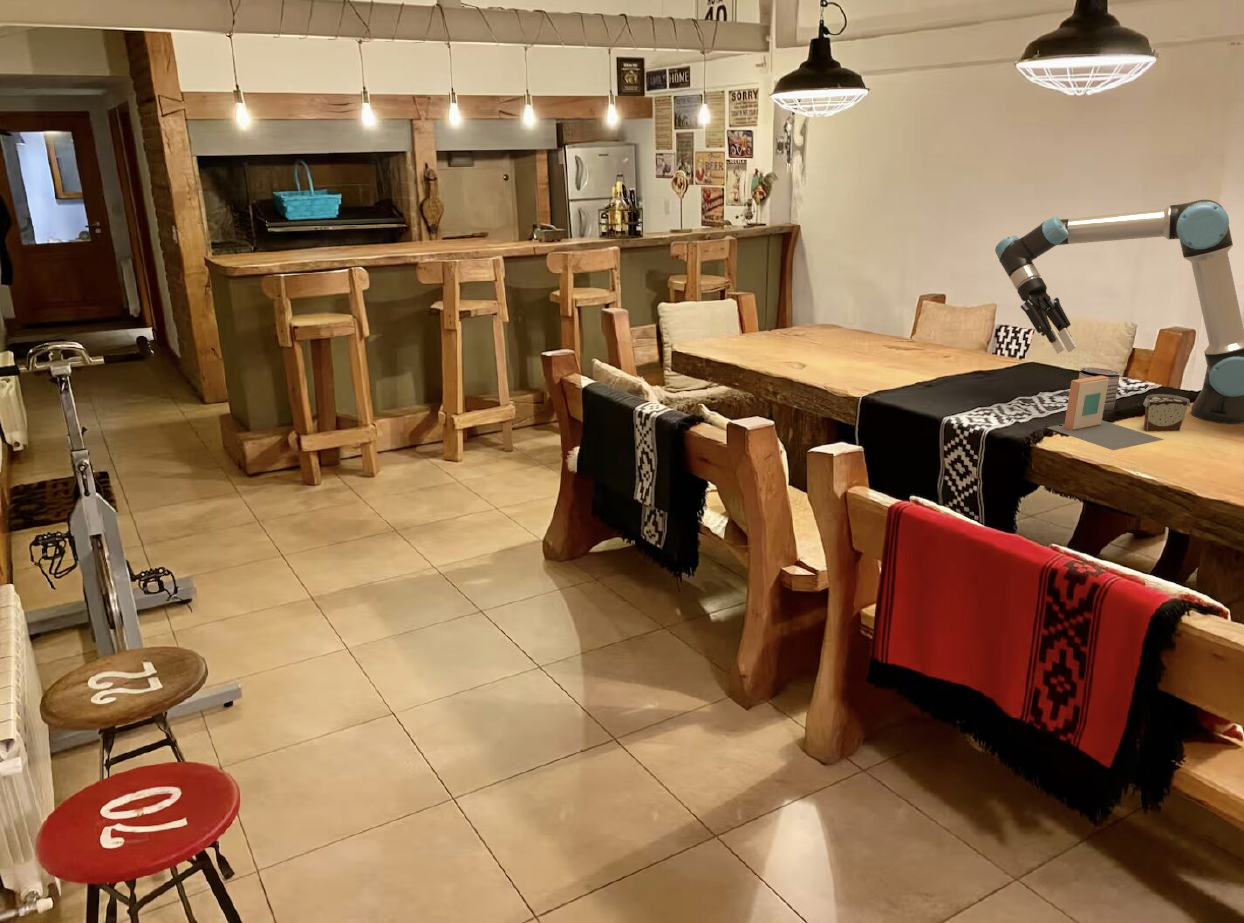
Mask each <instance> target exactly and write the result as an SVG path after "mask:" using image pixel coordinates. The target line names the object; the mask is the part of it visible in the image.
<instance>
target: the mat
mask: <svg viewBox="0 0 1244 923" xmlns="http://www.w3.org/2000/svg"><path fill="white" fill-rule="evenodd" d="M1064 424H1065V423H1062V424H1057V425H1052V426H1047V427H1045V429H1049V430H1051V431H1054V432H1057V433H1060V434H1065V435H1066V436H1070V437H1072V438H1075V439H1079V440H1082V441H1084V442H1087V443H1090V444H1094V445H1097V446H1099V447H1102V448H1105V449H1108V450H1112V451H1116V450H1121V449H1122V450H1123V449H1126V448H1131V447H1135V446H1139V445H1145V444H1149V443H1153V442H1159V441H1164V440H1165V439H1164V438H1161V437H1158V436H1155V435H1151V434H1148V433H1144V432H1142V431H1138V430H1135V429H1132V428H1128V427H1125V426H1121V425H1119V424H1116V423H1113V422H1109V421H1106V420H1103V419H1102V422H1101V425H1097V426H1092V427H1087V428H1082V429H1077V430H1072V431H1071V430H1068V429H1065V428H1064ZM1059 425H1062V426H1059Z"/></svg>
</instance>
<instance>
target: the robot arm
mask: <svg viewBox="0 0 1244 923" xmlns="http://www.w3.org/2000/svg"><path fill="white" fill-rule="evenodd" d="M1161 237H1163V238H1165V239H1167V240H1179V242H1180V247H1181V252H1182V256H1183V259H1185V260H1186V261H1189V262H1190V263H1191V266H1192V267H1191V268H1192V272H1193V276H1194V281H1195V285H1196V291H1197V295H1198V300H1199V304H1200V308H1201V313H1202V317H1203V322H1204V323H1203V324H1204V327H1205V331H1206V336H1207V337H1206V338H1207V341H1208V346H1207V347H1206V349H1205V350H1204V351H1203V352H1204V356H1205V362H1206V370H1205V375H1204V379H1203V383H1202V384H1203V385H1202V389H1201V390H1200V392H1199V394H1198V395H1197V397H1196V399H1195V401H1194V402H1193V403H1192V405H1191V408H1190V409H1191V410H1190V414H1191V415H1192V416H1194V417H1195V418H1198V419H1202V420H1205V421H1210V422H1213V423H1214V422H1216V423H1221V424H1222V423H1223V424H1244V323H1243V319H1242V314H1241V310H1240V309H1241V308H1240V305H1239V300H1238V296H1237V295H1238V294H1237V291H1236V286H1235V281H1234V276H1233V272H1232V267H1231V266H1232V265H1231V263H1230V262H1231V261H1230V258H1229V252H1230V249H1231V248H1232V247H1233V246H1234V245H1233V239H1232V234H1231V229H1230V218H1229V214H1228V213H1227V211H1226V209H1224V207H1223V206H1222V205H1221V204H1220V203H1218V202H1216V201H1215V200H1211V199H1199V200H1194V201H1191V202H1185V203H1179V204H1172V205H1170V204H1169V205H1168V206H1167V207H1166V208H1165V209H1156V210H1146V211H1137V212H1126V213H1125V212H1124V213H1114V214H1105V215H1095V216H1093V215H1092V216H1083V217H1082V216H1081V217H1073V218H1062V219H1060V218H1059V217H1058V216H1053V217H1051V218H1049V219H1046V220H1045V221H1043V222H1042V223H1040V224H1039V225H1038V226H1036V228H1034V229H1032V230H1031V231H1030V232H1028V233H1027V234H1025V235H1024V236H1022V237H1020V238H1019V237H1018V236H1016V235H1010V236H1007V238H1003V239H1001V241H999V242H998V243H997V244H996V246H995V249H994V251H995V254H996V255H997V258H998V260H999V263H1000V264H1001V266H1002V267H1003V269H1004V271H1005V273H1006V274H1007V276H1008V277H1009V280H1010V281H1011V283H1012V284H1013V287H1014V288H1015V290H1016V291H1017V294H1018V297H1020V299H1021V301H1022V302H1023V303H1022V304H1021V305H1020V309H1021V310H1022V311H1024V313H1025V314H1026V315H1027V318H1028V319H1029V321H1030V323H1031V324H1032V326H1033V327H1034V328H1035V331H1036V332H1037V334H1040V335H1041V337H1044V336H1046V338H1047V340H1048V341H1049V343H1050V344H1051V346H1052V348H1053V349H1054V351H1055V353H1056V354H1057V355H1058V354H1060V353H1062V352H1063V351H1065V349H1066V351H1067V353H1070V352H1072V351H1073V350H1075V349H1076V348H1077V344H1076V343H1075V341H1074V340H1073V337H1072V335H1071V333H1070V331H1069V330H1068V328H1069V327H1071V322H1070V319H1069V318H1068V316H1067V315H1066V312H1065V311H1064V309H1063V307H1062V306H1061V303H1060V299H1059V297H1055V298H1051V296H1050V295H1049V294H1048V292H1047V289H1048V287H1047V284H1046V283H1045V282H1044V280H1043V278H1042V277H1041V274H1040V272H1039V271H1038V269H1037V267H1036V266H1035V265H1034V263H1033V260H1036V259H1037V258H1038V257H1040V256H1041V255H1044V254H1045V253H1047V252H1049V251H1050V250H1052V249H1054V247H1056V246H1062V245H1063V246H1065V245H1073V244H1086V243H1097V242H1110V241H1111V242H1113V241H1121V240H1122V241H1123V240H1124V241H1125V240H1135V239H1138V240H1139V239H1146V238H1150V239H1151V238H1161ZM1050 322H1051V323H1052V325H1053V326H1054V328H1055V329H1054V328H1052V326H1051V323H1050ZM1056 330H1057V331H1058V332H1057V331H1056Z"/></svg>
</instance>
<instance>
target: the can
mask: <svg viewBox="0 0 1244 923" xmlns="http://www.w3.org/2000/svg"><path fill="white" fill-rule="evenodd" d="M1079 370H1080V371H1079V374H1078V379H1083V378H1089V377H1095V376H1101V375H1102V376H1105V377H1109V382H1108V387H1107V393H1106V399H1105V405H1104V410H1103V411H1111V409H1113V408H1114V409H1115V405H1116V398H1117V393H1118V388H1119V382H1120V376H1121V375H1122V374H1121V372H1120V371H1116V370H1111V369H1107V368H1106V369H1105V368H1099V367H1091V366H1090V367H1085V366H1084V367H1080V368H1079ZM1114 409H1113V410H1114Z"/></svg>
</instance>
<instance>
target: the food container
mask: <svg viewBox="0 0 1244 923" xmlns="http://www.w3.org/2000/svg"><path fill="white" fill-rule="evenodd" d="M1142 404H1143V406H1144V407H1145V409H1144V410H1145V411H1144V423H1143V430H1144V432H1180V431H1181V429H1182V426H1183V422H1184V419H1185V415H1186V412H1187V409H1188V407H1191V402H1190V398H1186V397H1183V396H1179V395H1173V394H1165V393H1162V394H1161V393H1160V394H1159V393H1157V394H1149V395H1146V398H1145V399H1144V401H1143V403H1142Z"/></svg>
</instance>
